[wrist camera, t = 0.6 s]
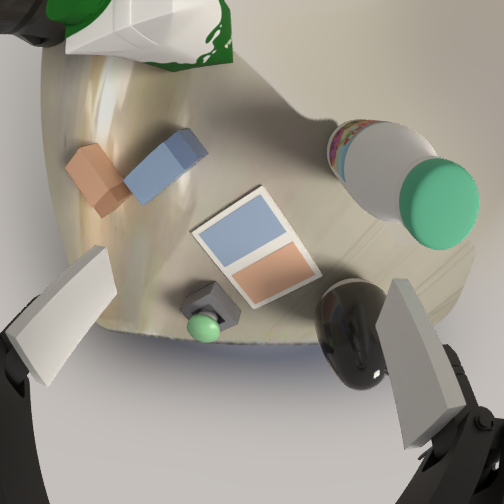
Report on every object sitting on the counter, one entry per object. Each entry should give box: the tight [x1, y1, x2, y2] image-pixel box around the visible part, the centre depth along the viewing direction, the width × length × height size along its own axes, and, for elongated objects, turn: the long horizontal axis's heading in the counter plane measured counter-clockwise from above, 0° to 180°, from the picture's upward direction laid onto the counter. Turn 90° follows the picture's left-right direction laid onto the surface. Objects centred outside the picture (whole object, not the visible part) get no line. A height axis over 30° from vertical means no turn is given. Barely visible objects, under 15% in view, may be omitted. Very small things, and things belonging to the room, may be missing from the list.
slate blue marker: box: [123, 129, 209, 206], centre depth 30 cm, size 9×4×4 cm, turn 125°
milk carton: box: [46, 0, 233, 72], centre depth 16 cm, size 9×9×20 cm
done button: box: [187, 309, 220, 342], centre depth 37 cm, size 4×4×3 cm
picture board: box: [192, 185, 323, 309], centre depth 36 cm, size 14×11×1 cm
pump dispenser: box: [314, 278, 389, 391], centre depth 30 cm, size 10×10×15 cm
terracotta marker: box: [65, 143, 132, 218], centre depth 32 cm, size 9×4×4 cm, turn 35°
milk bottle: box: [327, 120, 479, 250], centre depth 20 cm, size 8×8×20 cm
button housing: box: [179, 281, 241, 332], centre depth 39 cm, size 6×6×3 cm
